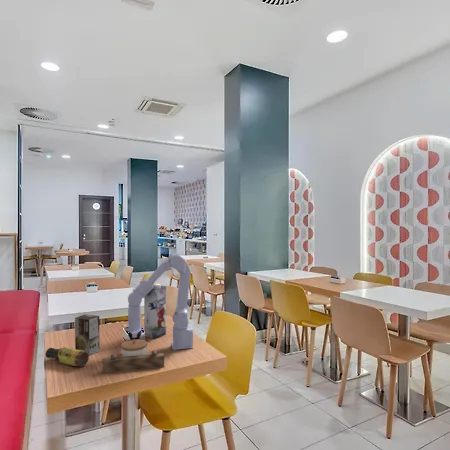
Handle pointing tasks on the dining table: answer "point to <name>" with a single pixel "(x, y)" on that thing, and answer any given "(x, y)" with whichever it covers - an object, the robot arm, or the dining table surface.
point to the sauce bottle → (68, 356)
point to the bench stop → (132, 362)
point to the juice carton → (155, 312)
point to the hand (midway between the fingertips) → (134, 348)
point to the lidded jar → (134, 348)
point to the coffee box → (87, 333)
